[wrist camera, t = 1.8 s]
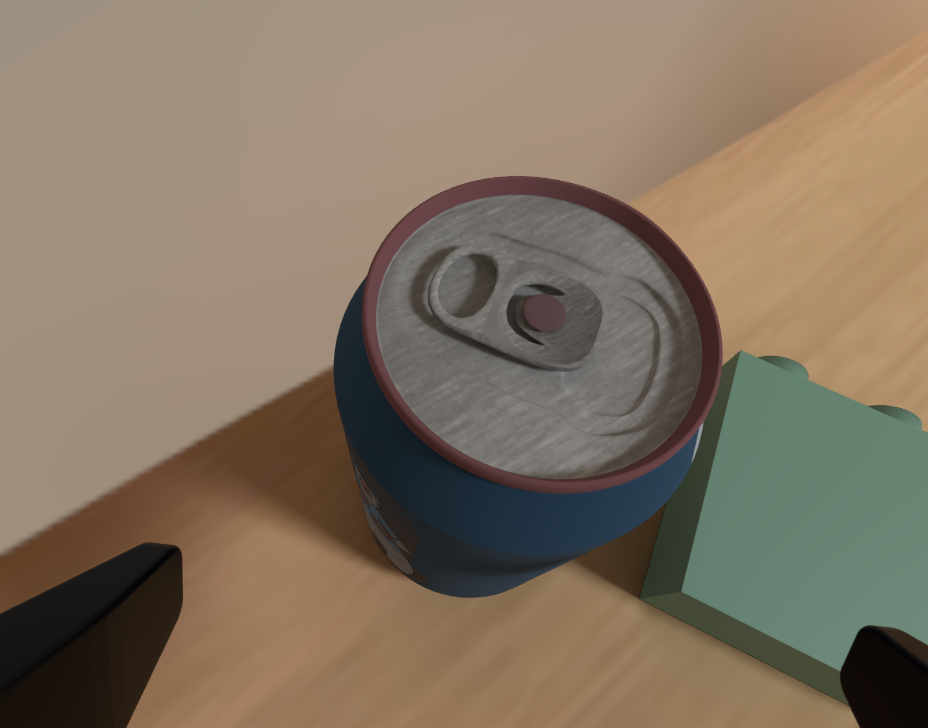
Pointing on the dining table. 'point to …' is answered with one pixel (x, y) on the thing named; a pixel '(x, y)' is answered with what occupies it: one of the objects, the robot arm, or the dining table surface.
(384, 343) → the soda can
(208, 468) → the dining table surface
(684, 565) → the base brick
